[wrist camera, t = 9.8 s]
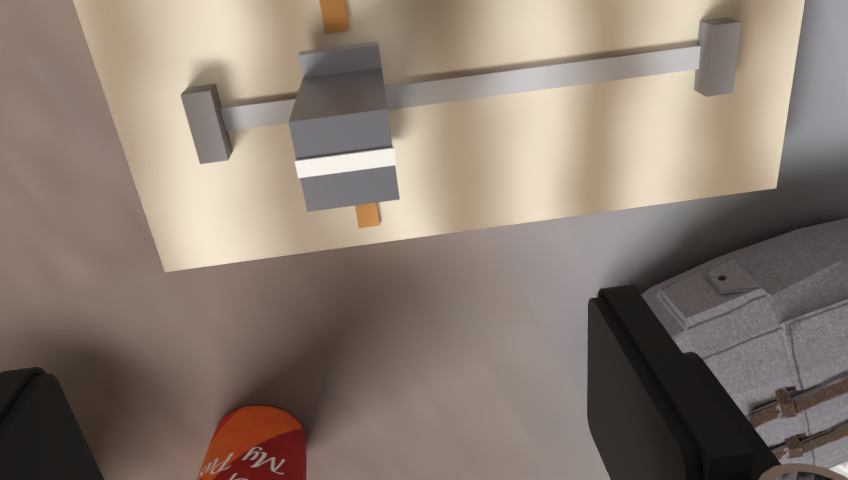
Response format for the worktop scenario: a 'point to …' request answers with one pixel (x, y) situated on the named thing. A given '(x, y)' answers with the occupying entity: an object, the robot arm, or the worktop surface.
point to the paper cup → (256, 446)
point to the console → (441, 111)
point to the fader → (343, 129)
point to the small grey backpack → (773, 336)
